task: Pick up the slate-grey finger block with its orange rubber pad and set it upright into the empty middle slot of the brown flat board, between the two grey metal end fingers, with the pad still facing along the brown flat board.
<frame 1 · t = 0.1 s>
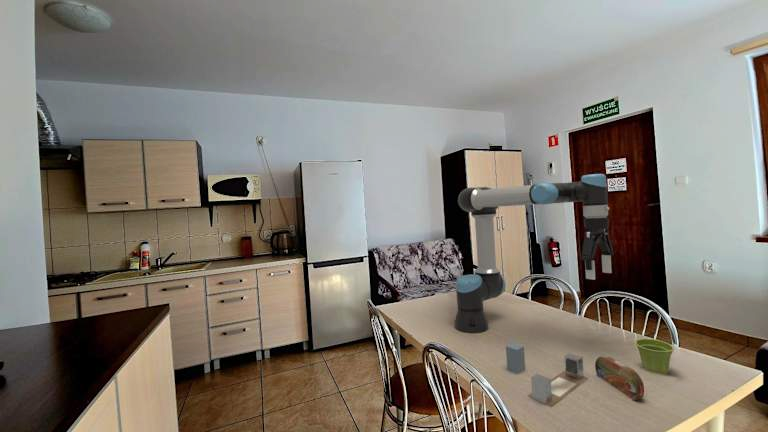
hand: (599, 275, 117), 28 cm above the table, tool pointing down, fingers open, 13 cm apart
finger block: (516, 373, 107), on the table
far end finger: (574, 375, 101), resting on brown flat board
tin: (619, 392, 93), on the table
plant pot: (655, 372, 102), on the table
near end finger: (542, 399, 90), resting on brown flat board
brown flat board: (559, 390, 95), on the table
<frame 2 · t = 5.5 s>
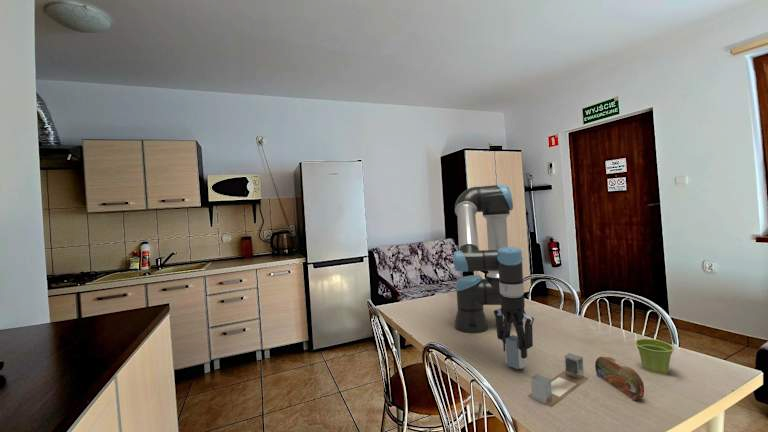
hand: (515, 364, 107), 3 cm above the table, tool pointing down, fingers closed on finger block, 4 cm apart
finger block: (516, 364, 107), point 2 cm above the table, touching gripper
everything else where it was.
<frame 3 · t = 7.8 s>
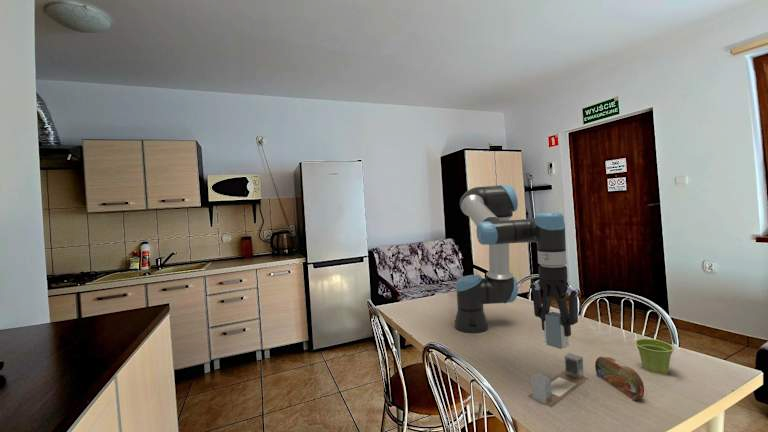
hand: (556, 343, 95), 14 cm above the table, tool pointing down, fingers closed on finger block, 4 cm apart
finger block: (557, 344, 95), point 14 cm above the table, touching gripper
everything else where it was.
when the fingers open (3 cm above the table, at t = 10.4 s): finger block stays where it is, resting on brown flat board.
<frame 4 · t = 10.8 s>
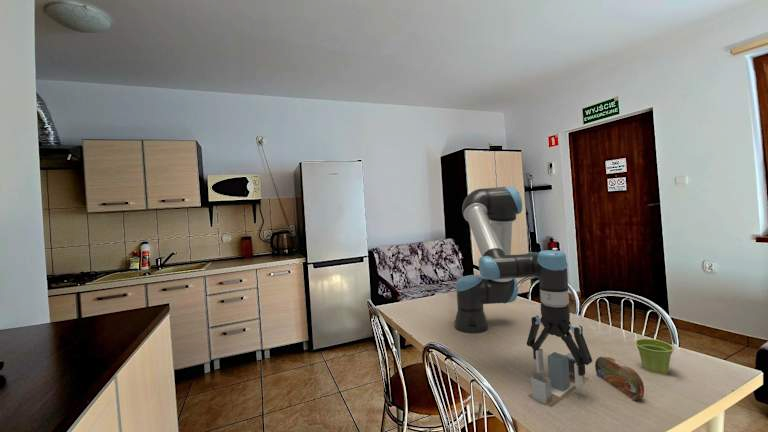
hand: (558, 377, 95), 4 cm above the table, tool pointing down, fingers open, 10 cm apart
finger block: (559, 386, 95), point 1 cm above the table, touching brown flat board
everything else where it was.
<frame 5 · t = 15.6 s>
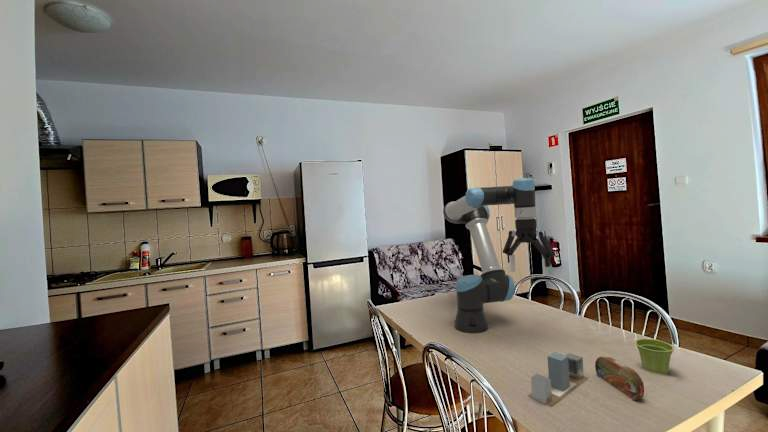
hand: (528, 273, 125), 29 cm above the table, tool pointing down, fingers open, 13 cm apart
nothing on the table moved.
at the end: finger block 0.1 cm off-centre on the brown flat board, point 1.3 cm above the brown flat board's base; finger block tilted 0°; the gripper is holding nothing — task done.
